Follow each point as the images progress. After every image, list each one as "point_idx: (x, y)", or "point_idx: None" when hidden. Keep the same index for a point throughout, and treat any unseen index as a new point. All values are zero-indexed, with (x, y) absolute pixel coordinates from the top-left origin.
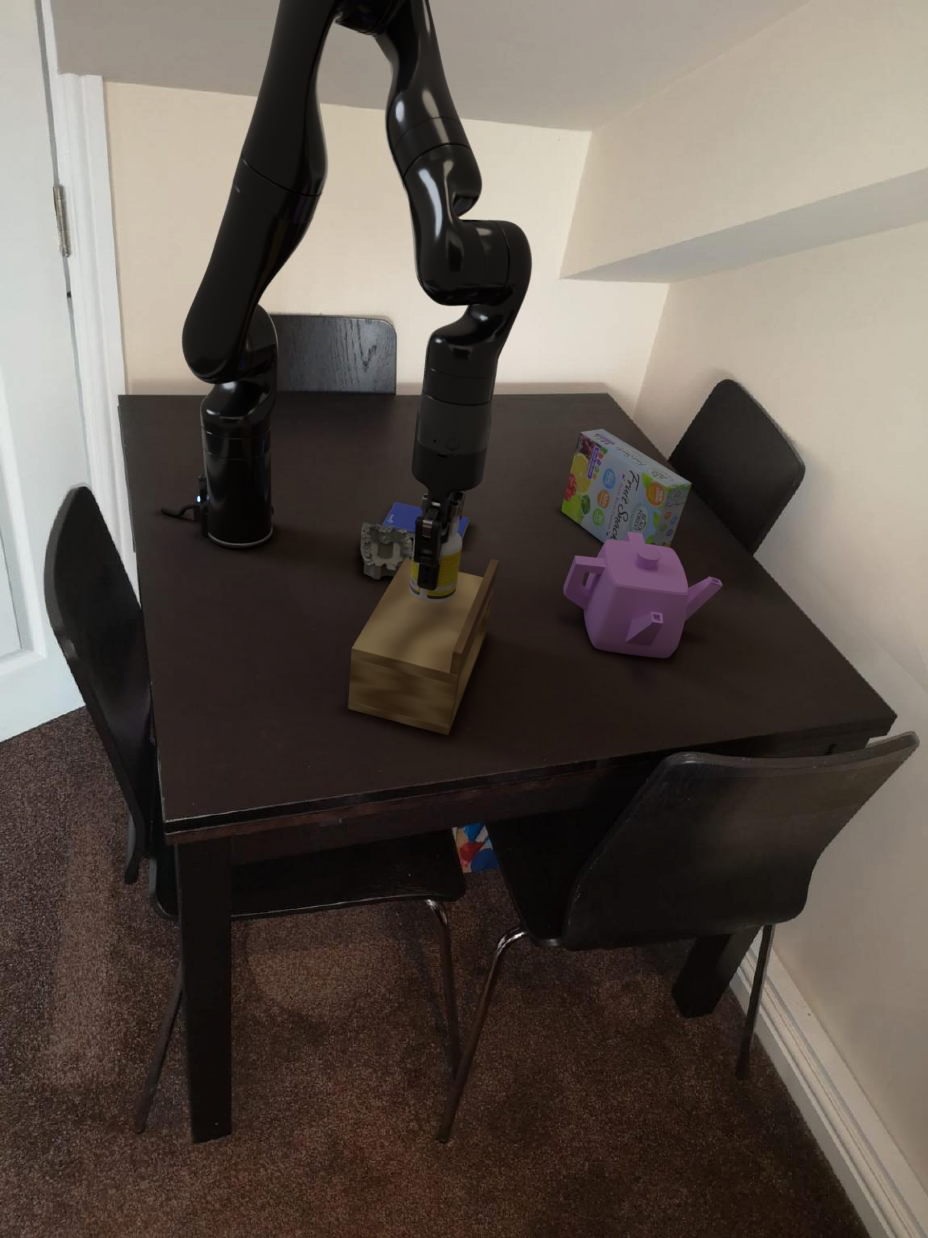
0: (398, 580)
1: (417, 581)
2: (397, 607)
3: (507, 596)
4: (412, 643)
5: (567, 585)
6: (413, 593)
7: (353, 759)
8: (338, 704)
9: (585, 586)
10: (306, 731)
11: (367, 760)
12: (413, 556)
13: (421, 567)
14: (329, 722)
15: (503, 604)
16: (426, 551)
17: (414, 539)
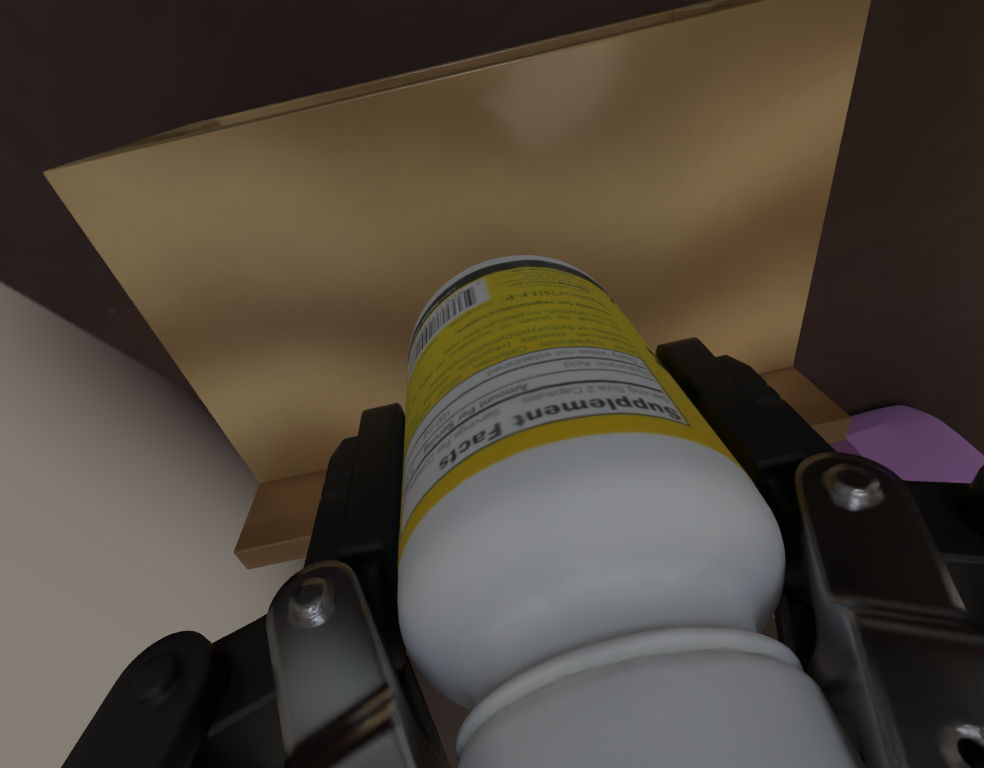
0: (650, 65)
1: (361, 423)
2: (443, 185)
3: (879, 262)
4: (286, 348)
5: (868, 457)
6: (418, 320)
7: (75, 244)
8: (183, 82)
9: (921, 423)
10: (11, 62)
11: (106, 273)
12: (128, 690)
13: (309, 548)
14: (105, 105)
15: (838, 268)
16: (271, 720)
17: (491, 489)
